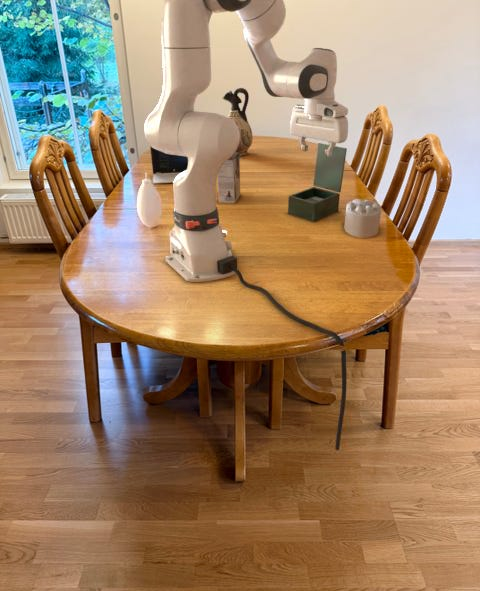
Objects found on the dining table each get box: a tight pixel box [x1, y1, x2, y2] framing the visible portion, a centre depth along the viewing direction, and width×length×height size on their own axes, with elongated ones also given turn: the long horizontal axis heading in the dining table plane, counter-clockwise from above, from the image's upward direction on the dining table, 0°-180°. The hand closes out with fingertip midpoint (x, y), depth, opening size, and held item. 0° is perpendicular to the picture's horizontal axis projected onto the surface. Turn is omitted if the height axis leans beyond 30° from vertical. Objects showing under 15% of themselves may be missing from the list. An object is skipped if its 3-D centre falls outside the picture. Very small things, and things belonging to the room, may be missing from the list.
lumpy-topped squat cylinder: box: [343, 198, 382, 239], centre depth 151 cm, size 10×13×9 cm
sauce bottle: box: [136, 171, 163, 229], centre depth 153 cm, size 8×8×18 cm
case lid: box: [312, 142, 348, 194], centre depth 166 cm, size 14×11×5 cm
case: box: [287, 186, 341, 223], centre depth 165 cm, size 14×11×6 cm
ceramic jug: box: [221, 87, 254, 157], centre depth 229 cm, size 17×15×30 cm
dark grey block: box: [306, 196, 323, 203], centre depth 165 cm, size 9×6×4 cm, turn 134°
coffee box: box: [217, 152, 241, 204], centre depth 176 cm, size 9×6×16 cm
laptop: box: [149, 145, 188, 185], centre depth 199 cm, size 18×12×13 cm
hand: (315, 153), depth 156 cm, fingers open, 8 cm apart
